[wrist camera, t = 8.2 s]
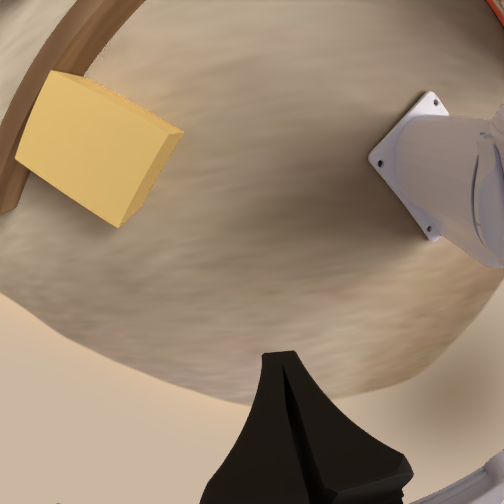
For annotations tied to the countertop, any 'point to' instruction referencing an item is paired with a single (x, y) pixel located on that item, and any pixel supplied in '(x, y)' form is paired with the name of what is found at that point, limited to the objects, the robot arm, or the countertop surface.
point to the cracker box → (498, 9)
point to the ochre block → (95, 146)
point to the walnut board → (63, 60)
